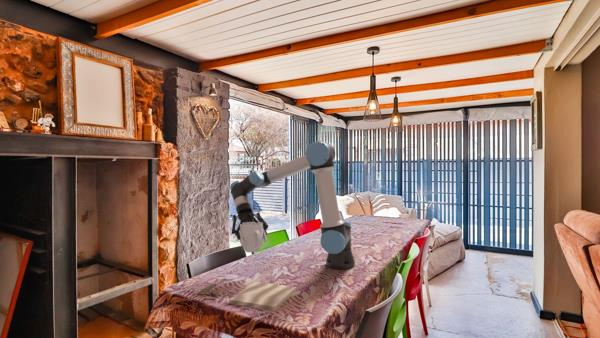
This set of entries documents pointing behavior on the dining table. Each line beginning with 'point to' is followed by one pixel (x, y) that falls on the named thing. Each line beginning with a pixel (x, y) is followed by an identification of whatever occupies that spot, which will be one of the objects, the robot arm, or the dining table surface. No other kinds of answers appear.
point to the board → (263, 295)
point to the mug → (252, 236)
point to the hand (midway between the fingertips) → (254, 243)
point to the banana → (206, 290)
